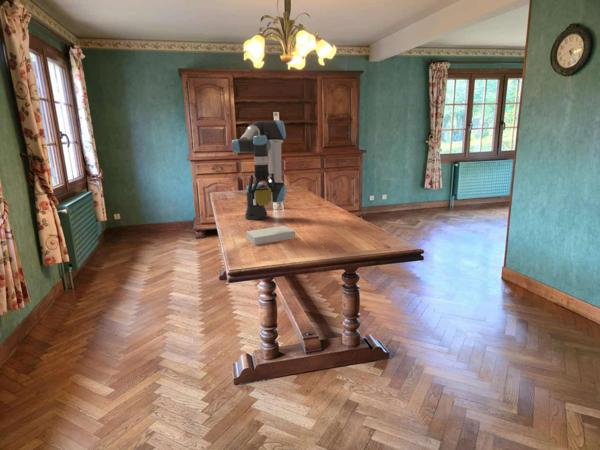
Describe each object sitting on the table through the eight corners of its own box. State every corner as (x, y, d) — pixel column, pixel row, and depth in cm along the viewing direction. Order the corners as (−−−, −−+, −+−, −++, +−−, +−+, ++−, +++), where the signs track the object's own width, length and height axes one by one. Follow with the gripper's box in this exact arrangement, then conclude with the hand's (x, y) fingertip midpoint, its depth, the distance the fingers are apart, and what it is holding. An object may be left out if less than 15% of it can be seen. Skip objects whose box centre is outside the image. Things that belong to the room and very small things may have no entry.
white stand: (246, 238, 219) (246, 231, 218) (285, 232, 229) (284, 225, 228) (254, 244, 207) (254, 237, 205) (295, 238, 217) (295, 231, 216)
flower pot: (256, 206, 215) (255, 190, 213) (254, 204, 223) (253, 188, 221) (272, 205, 217) (271, 189, 215) (269, 202, 225) (268, 187, 223)
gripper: (244, 165, 206) (246, 207, 212) (282, 163, 215) (283, 203, 221) (240, 164, 213) (242, 204, 219) (277, 162, 222) (278, 200, 228)
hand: (263, 203), depth 220 cm, fingers closed on flower pot, 9 cm apart
